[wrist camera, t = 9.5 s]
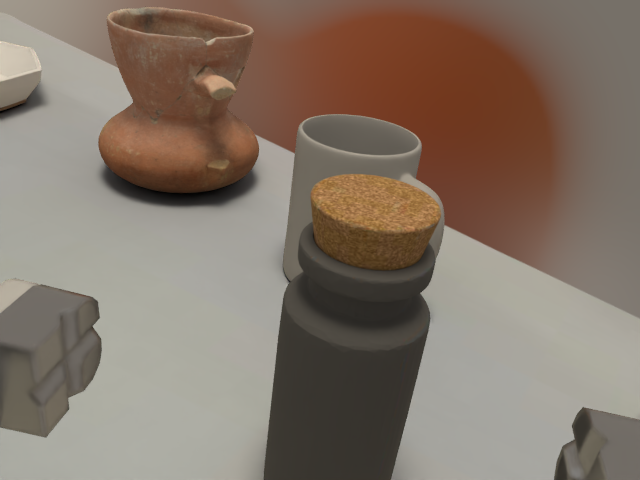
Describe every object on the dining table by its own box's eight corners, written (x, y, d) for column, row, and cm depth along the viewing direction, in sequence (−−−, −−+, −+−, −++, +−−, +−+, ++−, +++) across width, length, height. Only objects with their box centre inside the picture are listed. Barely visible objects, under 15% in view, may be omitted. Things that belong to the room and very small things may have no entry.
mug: (258, 263, 46) (270, 122, 40) (336, 234, 51) (356, 107, 46) (379, 346, 39) (413, 188, 33) (454, 301, 44) (493, 161, 39)
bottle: (313, 420, 32) (354, 155, 25) (407, 482, 29) (484, 204, 22) (236, 488, 28) (259, 192, 21) (338, 568, 25) (406, 258, 18)
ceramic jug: (290, 200, 56) (307, 42, 49) (136, 227, 48) (130, 43, 41) (208, 135, 68) (212, 2, 62) (74, 148, 61) (62, -3, 54)
